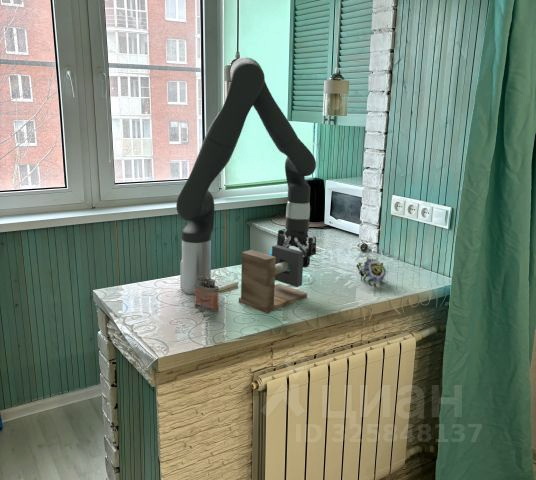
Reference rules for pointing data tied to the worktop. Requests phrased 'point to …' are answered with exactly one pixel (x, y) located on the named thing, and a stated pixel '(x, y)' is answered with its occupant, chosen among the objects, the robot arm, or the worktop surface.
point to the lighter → (206, 295)
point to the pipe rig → (265, 283)
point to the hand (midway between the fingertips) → (295, 264)
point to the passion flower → (372, 271)
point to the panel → (296, 265)
